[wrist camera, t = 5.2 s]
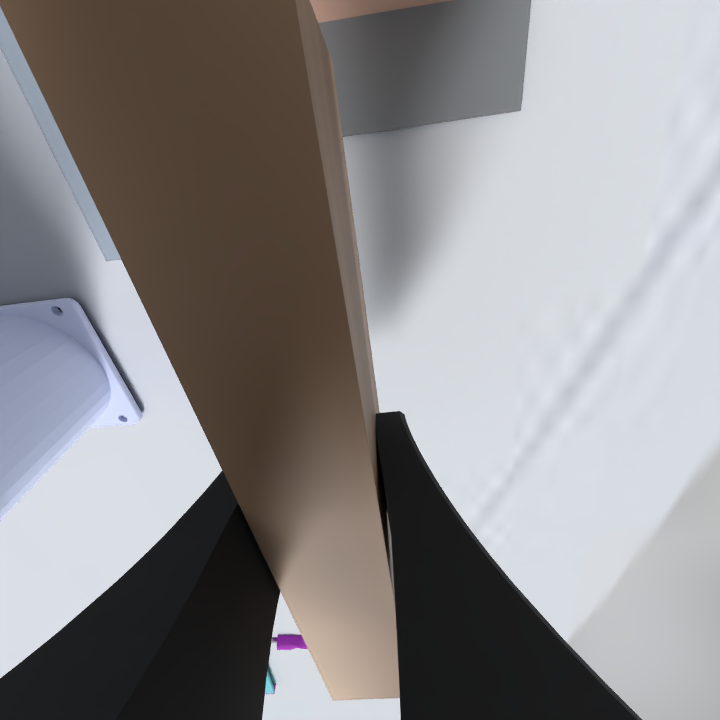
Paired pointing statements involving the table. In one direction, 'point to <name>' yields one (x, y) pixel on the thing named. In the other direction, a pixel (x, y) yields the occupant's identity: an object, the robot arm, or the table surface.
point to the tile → (360, 7)
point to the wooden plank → (243, 276)
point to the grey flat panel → (54, 138)
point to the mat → (428, 63)
